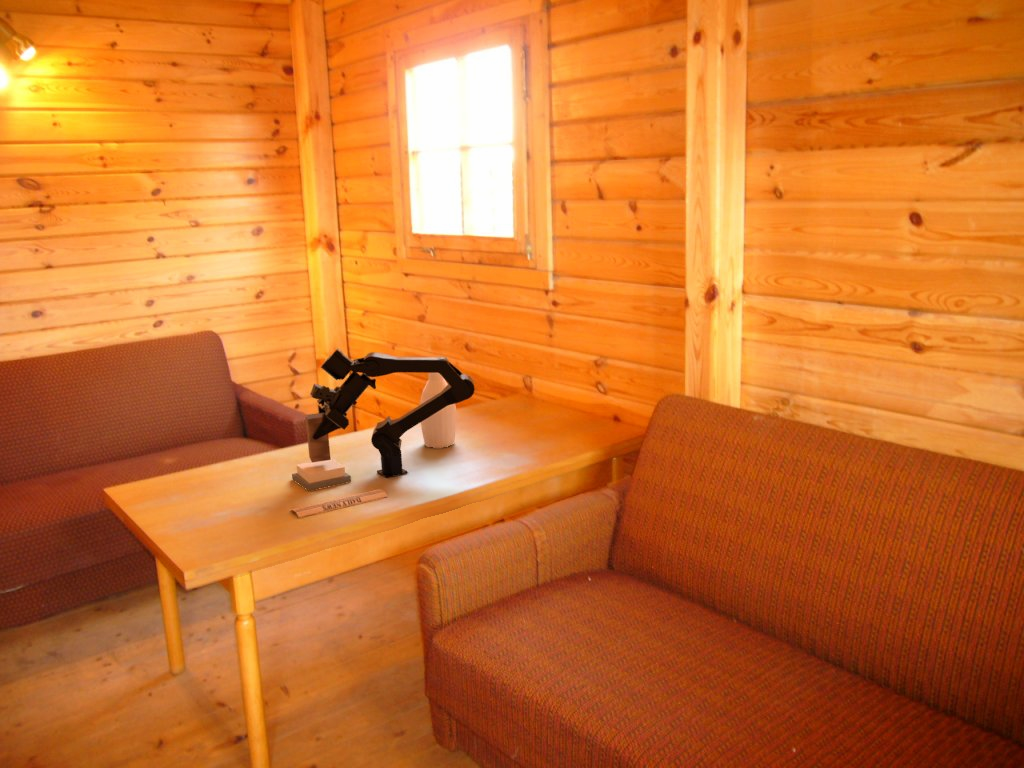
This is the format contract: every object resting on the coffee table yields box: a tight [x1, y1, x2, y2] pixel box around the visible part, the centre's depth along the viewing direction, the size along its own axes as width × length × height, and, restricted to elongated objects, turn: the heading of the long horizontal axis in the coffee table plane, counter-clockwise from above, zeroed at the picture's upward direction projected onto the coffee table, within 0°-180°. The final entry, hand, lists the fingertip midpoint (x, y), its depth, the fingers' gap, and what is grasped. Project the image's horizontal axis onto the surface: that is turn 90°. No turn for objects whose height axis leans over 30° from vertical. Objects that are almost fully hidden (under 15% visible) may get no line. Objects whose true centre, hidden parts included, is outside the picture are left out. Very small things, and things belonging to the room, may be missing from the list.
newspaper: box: [290, 488, 388, 518], centre depth 224 cm, size 24×7×2 cm, turn 123°
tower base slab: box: [291, 472, 352, 492], centre depth 242 cm, size 12×12×2 cm
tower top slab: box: [296, 457, 346, 483], centre depth 242 cm, size 10×10×2 cm
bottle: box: [419, 373, 457, 449], centre depth 269 cm, size 11×11×25 cm
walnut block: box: [304, 413, 331, 462], centre depth 239 cm, size 5×5×12 cm
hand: (312, 436), depth 239 cm, fingers closed on walnut block, 5 cm apart
